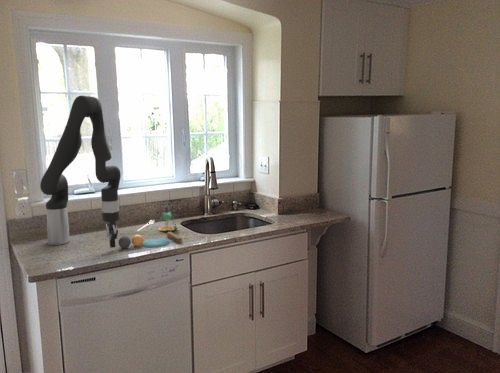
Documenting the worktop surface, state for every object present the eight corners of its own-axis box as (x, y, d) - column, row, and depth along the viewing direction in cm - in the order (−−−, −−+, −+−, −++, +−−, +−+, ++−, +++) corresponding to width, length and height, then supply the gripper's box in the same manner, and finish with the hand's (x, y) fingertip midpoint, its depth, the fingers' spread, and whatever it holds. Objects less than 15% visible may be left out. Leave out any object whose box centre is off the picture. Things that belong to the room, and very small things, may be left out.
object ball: (131, 247, 204) (132, 235, 204) (130, 244, 209) (131, 233, 209) (143, 247, 206) (144, 236, 205) (142, 245, 211) (143, 233, 211)
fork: (134, 231, 234) (134, 228, 234) (150, 222, 253) (149, 219, 253) (140, 232, 233) (140, 228, 233) (155, 222, 253) (155, 219, 252)
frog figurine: (165, 236, 225) (163, 207, 224) (154, 231, 240) (152, 204, 239) (183, 233, 230) (180, 205, 228) (171, 229, 245) (169, 202, 244)
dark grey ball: (129, 233, 204) (135, 243, 206) (122, 233, 207) (128, 243, 209) (120, 241, 200) (126, 250, 202) (114, 240, 204) (119, 250, 206)
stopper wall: (178, 243, 211) (178, 238, 211) (167, 236, 223) (167, 232, 222) (182, 243, 212) (181, 238, 212) (170, 236, 224) (170, 231, 223)
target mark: (145, 249, 203) (145, 249, 203) (136, 241, 214) (136, 241, 214) (174, 244, 210) (174, 244, 210) (163, 237, 222) (163, 237, 222)
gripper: (98, 208, 202) (100, 244, 205) (105, 214, 191) (108, 252, 194) (114, 206, 206) (117, 242, 209) (123, 211, 195) (125, 249, 198)
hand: (112, 247), depth 201 cm, fingers closed
